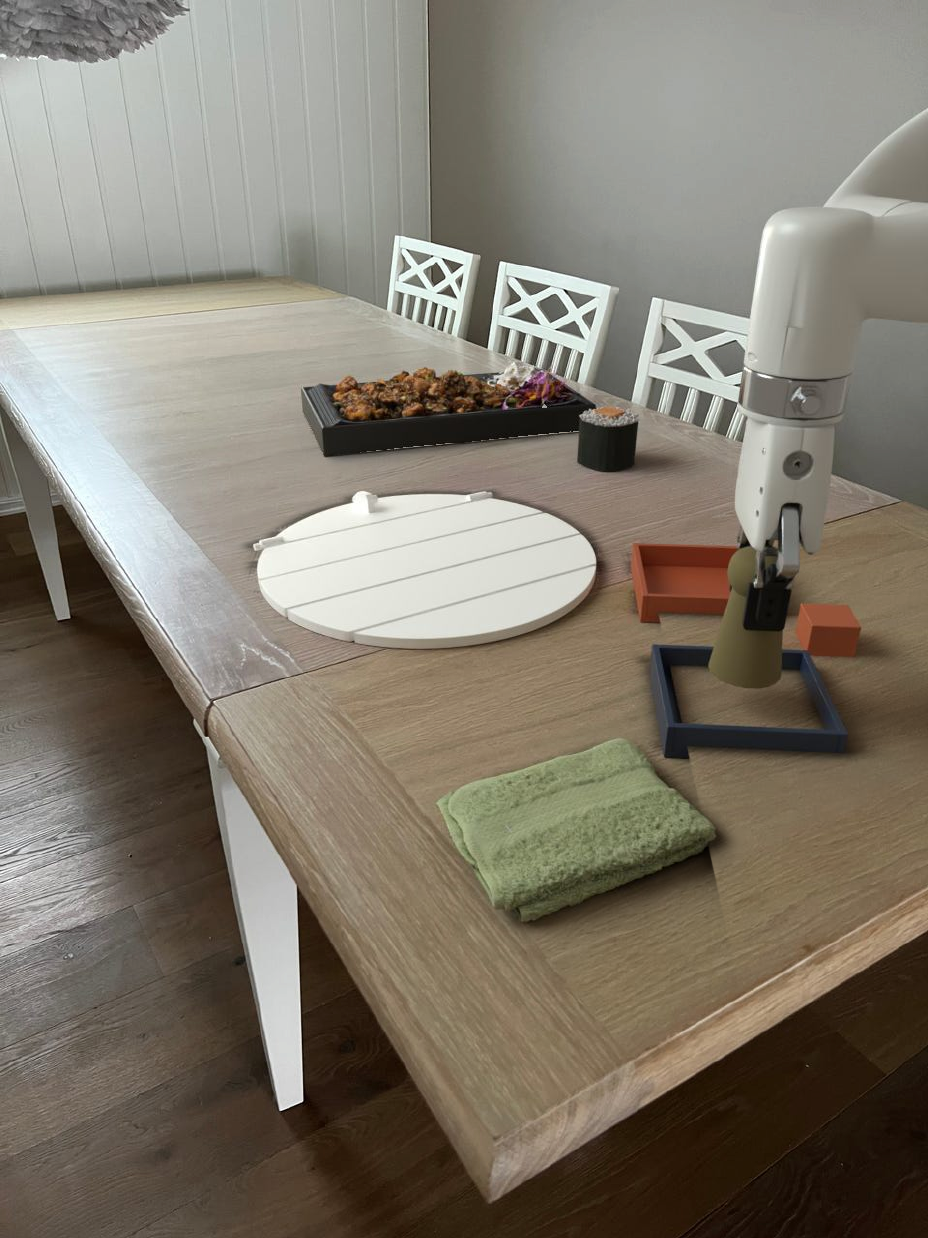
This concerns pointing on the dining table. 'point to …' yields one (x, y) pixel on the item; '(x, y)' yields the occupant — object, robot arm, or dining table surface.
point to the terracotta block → (828, 630)
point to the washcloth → (571, 828)
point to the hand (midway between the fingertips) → (755, 609)
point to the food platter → (440, 409)
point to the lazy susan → (426, 570)
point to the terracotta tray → (680, 579)
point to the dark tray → (742, 737)
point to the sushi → (607, 438)
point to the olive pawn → (745, 634)
